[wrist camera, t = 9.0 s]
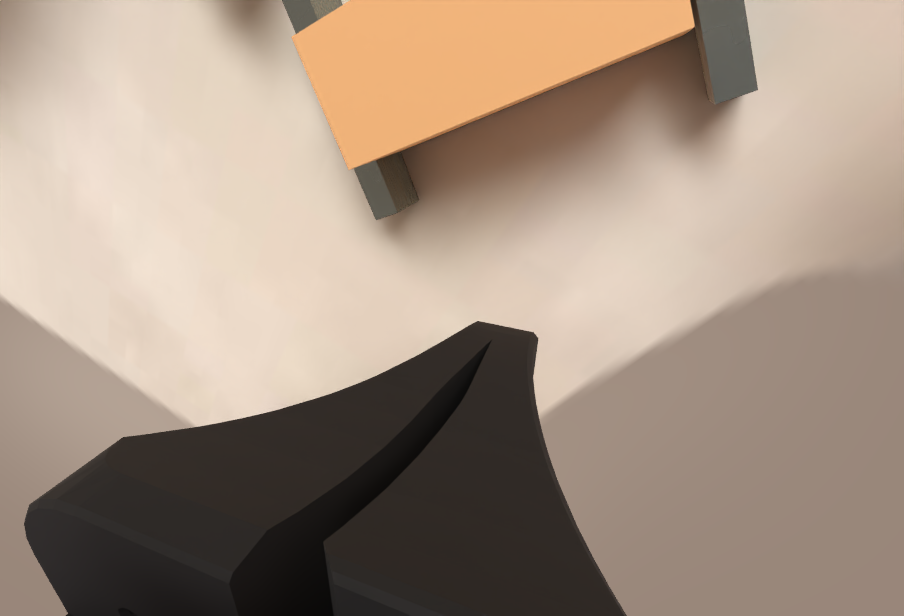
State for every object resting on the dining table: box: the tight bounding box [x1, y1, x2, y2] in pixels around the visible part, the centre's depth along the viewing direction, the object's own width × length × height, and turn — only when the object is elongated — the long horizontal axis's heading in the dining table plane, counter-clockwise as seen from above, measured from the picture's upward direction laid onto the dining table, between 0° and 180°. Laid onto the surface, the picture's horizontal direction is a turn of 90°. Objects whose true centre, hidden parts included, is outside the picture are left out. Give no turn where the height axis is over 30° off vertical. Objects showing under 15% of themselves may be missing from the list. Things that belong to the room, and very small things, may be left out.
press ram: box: [292, 0, 695, 170], centre depth 14 cm, size 4×10×4 cm, turn 112°
